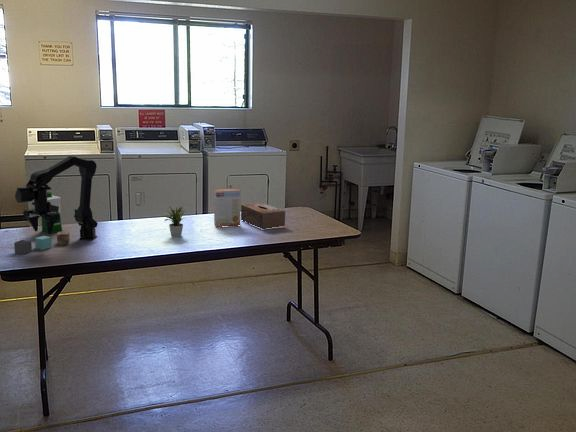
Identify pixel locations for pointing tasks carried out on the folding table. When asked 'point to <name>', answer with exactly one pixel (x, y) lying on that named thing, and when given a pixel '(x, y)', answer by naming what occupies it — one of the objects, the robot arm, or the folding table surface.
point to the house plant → (175, 222)
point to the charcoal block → (23, 247)
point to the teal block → (43, 242)
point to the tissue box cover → (262, 215)
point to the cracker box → (226, 207)
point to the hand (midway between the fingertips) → (42, 232)
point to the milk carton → (56, 202)
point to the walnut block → (63, 238)
